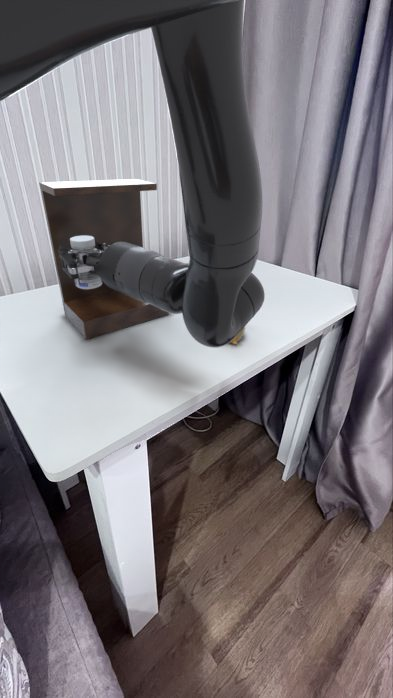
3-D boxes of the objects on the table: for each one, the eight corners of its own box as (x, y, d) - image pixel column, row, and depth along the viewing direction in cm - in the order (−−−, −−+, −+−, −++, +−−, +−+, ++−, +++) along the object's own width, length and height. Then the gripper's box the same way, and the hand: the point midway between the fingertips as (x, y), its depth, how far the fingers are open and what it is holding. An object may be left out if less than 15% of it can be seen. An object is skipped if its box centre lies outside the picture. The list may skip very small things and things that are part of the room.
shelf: (86, 339, 67) (61, 191, 52) (65, 316, 75) (38, 182, 60) (168, 314, 77) (168, 186, 63) (143, 296, 85) (136, 178, 70)
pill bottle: (107, 284, 61) (102, 237, 57) (88, 291, 58) (80, 243, 53) (90, 278, 63) (83, 233, 59) (69, 285, 60) (61, 238, 56)
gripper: (171, 239, 52) (106, 221, 62) (92, 257, 43) (30, 233, 52) (171, 284, 56) (111, 261, 66) (99, 310, 47) (41, 278, 56)
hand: (75, 248), depth 59 cm, fingers closed on pill bottle, 4 cm apart
